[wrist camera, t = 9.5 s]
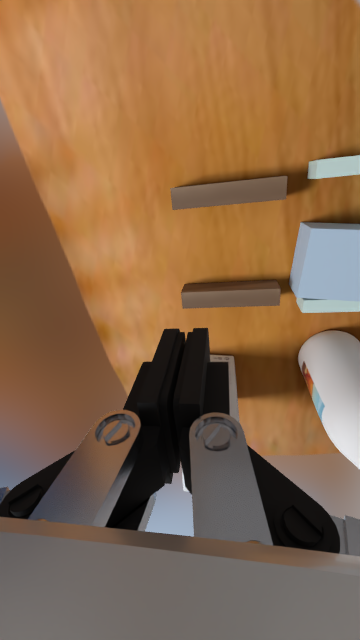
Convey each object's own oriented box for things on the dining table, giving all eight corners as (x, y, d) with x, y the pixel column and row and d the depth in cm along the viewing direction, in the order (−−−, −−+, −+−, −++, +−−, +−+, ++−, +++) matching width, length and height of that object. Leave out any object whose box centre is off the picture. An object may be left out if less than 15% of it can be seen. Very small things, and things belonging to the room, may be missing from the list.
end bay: (308, 161, 28) (321, 159, 24) (400, 151, 26) (427, 147, 23) (296, 302, 34) (304, 316, 31) (369, 300, 33) (386, 314, 29)
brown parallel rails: (175, 187, 30) (170, 188, 28) (281, 176, 29) (287, 175, 26) (185, 298, 36) (182, 308, 33) (275, 295, 34) (279, 305, 32)
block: (300, 221, 30) (311, 228, 26) (369, 223, 30) (392, 231, 26) (288, 283, 34) (296, 297, 30) (350, 286, 33) (368, 302, 29)
